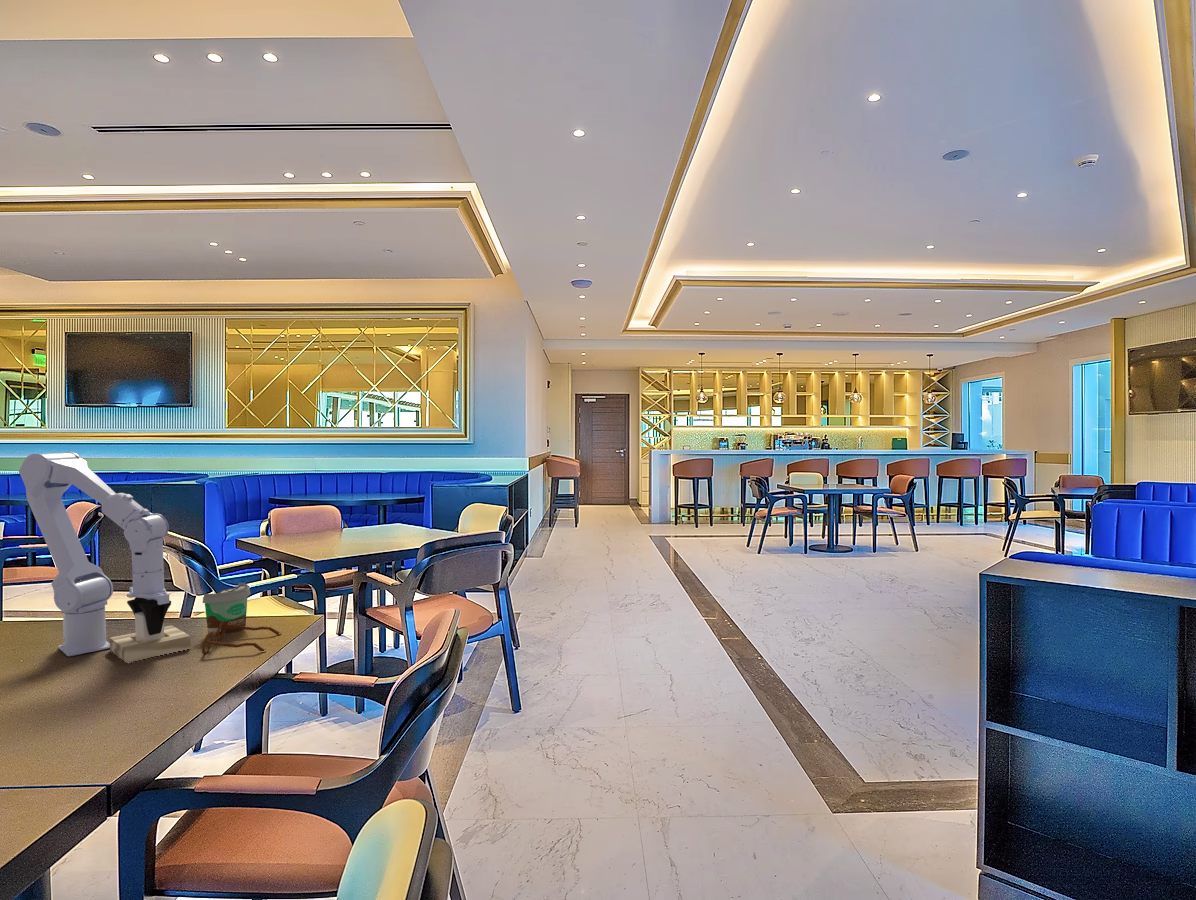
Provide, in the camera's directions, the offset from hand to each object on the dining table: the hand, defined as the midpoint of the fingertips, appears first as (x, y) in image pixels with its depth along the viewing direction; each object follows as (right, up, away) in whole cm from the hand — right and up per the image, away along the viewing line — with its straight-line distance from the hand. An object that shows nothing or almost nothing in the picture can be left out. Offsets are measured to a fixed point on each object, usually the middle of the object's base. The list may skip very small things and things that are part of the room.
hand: (150, 632), depth 148 cm
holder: (0, -4, 0) cm, 4 cm away
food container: (+10, -4, +15) cm, 19 cm away
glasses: (+19, -5, +4) cm, 20 cm away
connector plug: (0, -2, 0) cm, 2 cm away
